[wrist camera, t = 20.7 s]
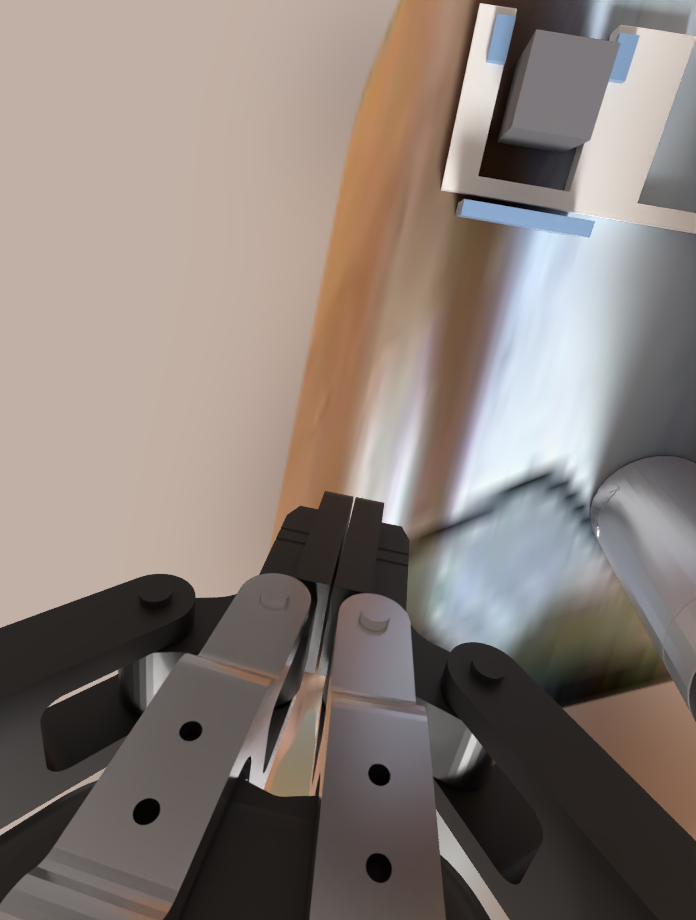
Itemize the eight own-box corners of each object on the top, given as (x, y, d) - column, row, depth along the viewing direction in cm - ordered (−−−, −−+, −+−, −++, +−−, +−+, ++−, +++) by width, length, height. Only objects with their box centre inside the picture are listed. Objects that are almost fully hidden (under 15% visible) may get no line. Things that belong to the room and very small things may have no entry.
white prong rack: (822, 66, 29) (914, 30, 23) (733, 264, 33) (794, 272, 28) (477, 13, 30) (489, -33, 24) (436, 212, 34) (438, 211, 29)
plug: (585, 74, 30) (620, 42, 25) (562, 153, 32) (590, 140, 27) (516, 63, 30) (536, 28, 25) (497, 142, 32) (511, 126, 27)
